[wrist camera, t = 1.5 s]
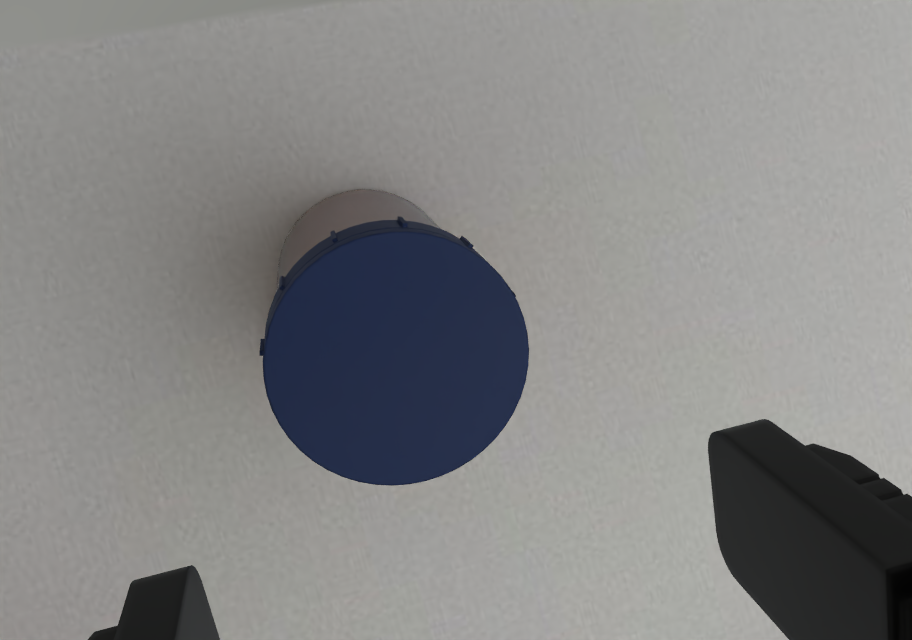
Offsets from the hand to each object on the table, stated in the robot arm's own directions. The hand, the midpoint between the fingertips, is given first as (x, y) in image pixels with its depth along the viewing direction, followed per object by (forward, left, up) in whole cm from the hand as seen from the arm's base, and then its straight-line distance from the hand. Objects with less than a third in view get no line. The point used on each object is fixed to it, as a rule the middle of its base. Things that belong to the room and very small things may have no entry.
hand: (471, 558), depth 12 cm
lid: (0, 0, -9) cm, 9 cm away
